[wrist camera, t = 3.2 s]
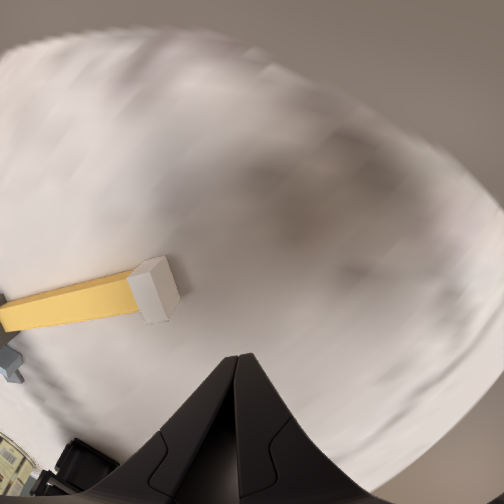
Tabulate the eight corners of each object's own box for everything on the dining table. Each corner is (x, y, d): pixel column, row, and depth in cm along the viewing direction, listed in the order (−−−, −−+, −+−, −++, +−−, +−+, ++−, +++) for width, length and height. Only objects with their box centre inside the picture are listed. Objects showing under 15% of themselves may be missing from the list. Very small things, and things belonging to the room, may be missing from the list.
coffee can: (4, 448, 30) (-22, 489, 17) (-12, 422, 27) (-44, 467, 14) (41, 473, 31) (17, 519, 18) (27, 450, 28) (-3, 502, 15)
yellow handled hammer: (163, 247, 17) (139, 269, 14) (183, 304, 18) (166, 337, 15) (-15, 299, 19) (-39, 315, 15) (1, 333, 20) (-20, 352, 16)
